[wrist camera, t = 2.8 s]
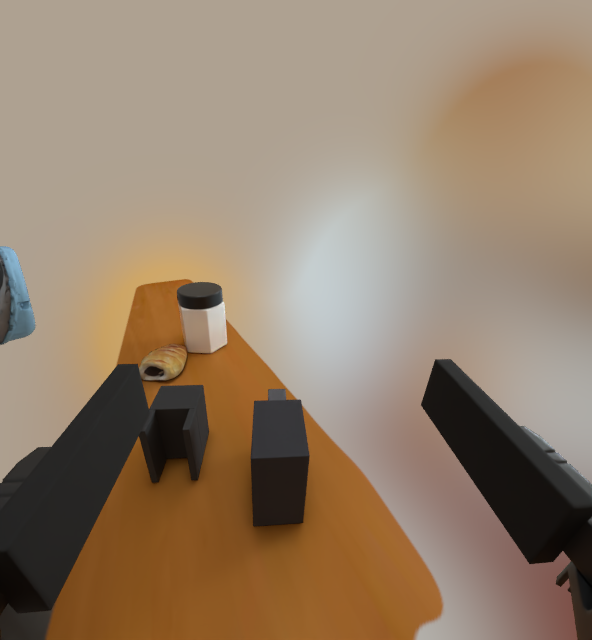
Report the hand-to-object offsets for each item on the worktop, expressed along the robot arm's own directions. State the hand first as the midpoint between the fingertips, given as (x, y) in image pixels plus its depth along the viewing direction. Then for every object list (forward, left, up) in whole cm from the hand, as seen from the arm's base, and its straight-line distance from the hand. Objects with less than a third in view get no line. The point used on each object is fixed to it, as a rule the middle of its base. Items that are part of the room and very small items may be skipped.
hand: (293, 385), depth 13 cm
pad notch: (+3, +19, -23) cm, 30 cm away
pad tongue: (+8, +8, -23) cm, 25 cm away
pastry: (+11, +37, -23) cm, 45 cm away
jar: (+21, +39, -23) cm, 50 cm away
